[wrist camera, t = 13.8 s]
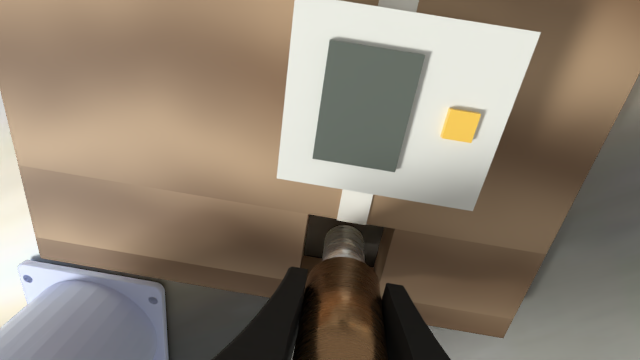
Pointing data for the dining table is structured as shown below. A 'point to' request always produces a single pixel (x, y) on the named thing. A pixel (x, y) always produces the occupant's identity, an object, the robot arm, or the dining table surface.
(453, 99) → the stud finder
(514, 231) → the board
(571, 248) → the dining table surface
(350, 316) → the brown translucent cylinder
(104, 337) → the robot arm
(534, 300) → the dining table surface
